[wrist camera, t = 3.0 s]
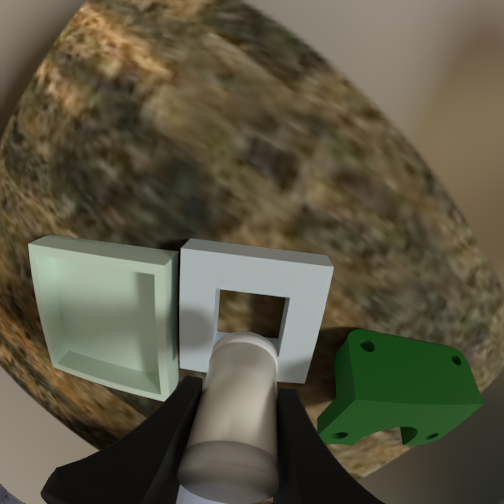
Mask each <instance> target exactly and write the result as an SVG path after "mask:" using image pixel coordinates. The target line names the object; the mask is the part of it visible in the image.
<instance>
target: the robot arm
mask: <svg viewBox="0 0 504 504" xmlns="http://www.w3.org/2000/svg"><path fill="white" fill-rule="evenodd" d="M201 393H202V378H197V377H191V376H186V377H184V379H183V380H182V381H181V383H180V384H179V385H178V386H177V388H176V389H175V390H174V391H173V392H172V394H171V395H170V396H169V397H168V398H167V399H166V400H165V401H164V402H163V403H162V404H161V406H160V407H159V408H158V409H157V410H156V411H155V412H153V413H152V414H151V415H150V416H149V417H148V418H147V419H146V420H145V421H144V422H142V423H141V424H140V425H139V426H138V427H136V428H135V429H134V430H132V431H131V432H130V433H128V434H127V435H125V436H124V437H123V438H121V439H119V440H118V441H116V442H115V443H113V444H111V445H110V446H108V447H106V448H104V449H102V450H100V451H98V452H96V453H94V454H92V455H90V456H88V457H86V458H83V459H81V460H78V461H75V462H73V463H69V464H67V465H64V466H61V467H57V468H56V469H55V471H54V472H53V473H52V474H51V476H50V477H49V478H48V480H47V482H46V484H45V485H44V487H43V489H42V491H41V496H42V498H43V499H44V501H45V502H46V503H47V504H226V503H219V502H215V501H211V500H207V499H204V498H201V497H199V496H197V495H195V494H193V493H191V492H189V491H188V490H186V489H185V488H184V487H183V486H182V485H181V484H180V483H179V481H178V479H177V472H178V469H179V465H180V461H181V458H182V455H183V452H184V451H185V449H186V446H187V442H188V439H189V435H190V432H191V428H192V424H193V421H194V417H195V414H196V410H197V407H198V403H199V400H200V396H201ZM277 438H278V464H279V490H278V492H277V493H276V494H275V495H274V496H273V504H385V503H383V502H381V501H380V500H379V499H377V498H376V497H375V496H373V495H372V494H371V493H370V492H368V491H367V490H366V489H365V488H364V487H362V486H361V485H360V484H359V483H358V482H357V481H356V480H355V479H354V478H353V477H352V476H351V475H350V474H349V473H348V472H347V471H346V470H345V469H344V468H343V467H342V465H341V464H340V463H339V462H338V461H337V459H336V458H335V457H334V456H333V454H332V453H331V452H330V450H329V449H328V448H327V446H326V445H325V443H324V442H323V440H322V439H321V437H320V436H319V434H318V432H317V431H316V429H315V427H314V425H313V424H312V422H311V420H310V418H309V416H308V414H307V412H306V410H305V408H304V406H303V404H302V402H301V399H300V397H299V394H298V392H297V391H296V389H283V388H280V390H279V394H278V398H277ZM0 504H25V503H23V502H22V501H20V500H19V499H17V498H16V497H14V496H13V495H11V494H10V493H9V492H7V490H6V489H5V488H4V487H3V486H2V485H1V484H0Z"/></svg>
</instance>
